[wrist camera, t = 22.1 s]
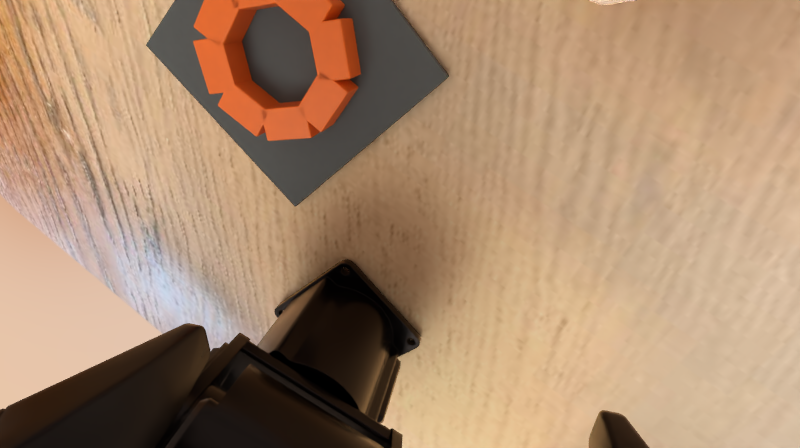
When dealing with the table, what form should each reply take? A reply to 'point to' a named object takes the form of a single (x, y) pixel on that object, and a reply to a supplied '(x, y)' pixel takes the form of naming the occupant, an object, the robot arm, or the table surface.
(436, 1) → the table surface
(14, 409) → the robot arm
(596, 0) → the anatomical pelvis
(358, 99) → the grey mat
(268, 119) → the orange ring
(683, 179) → the table surface
